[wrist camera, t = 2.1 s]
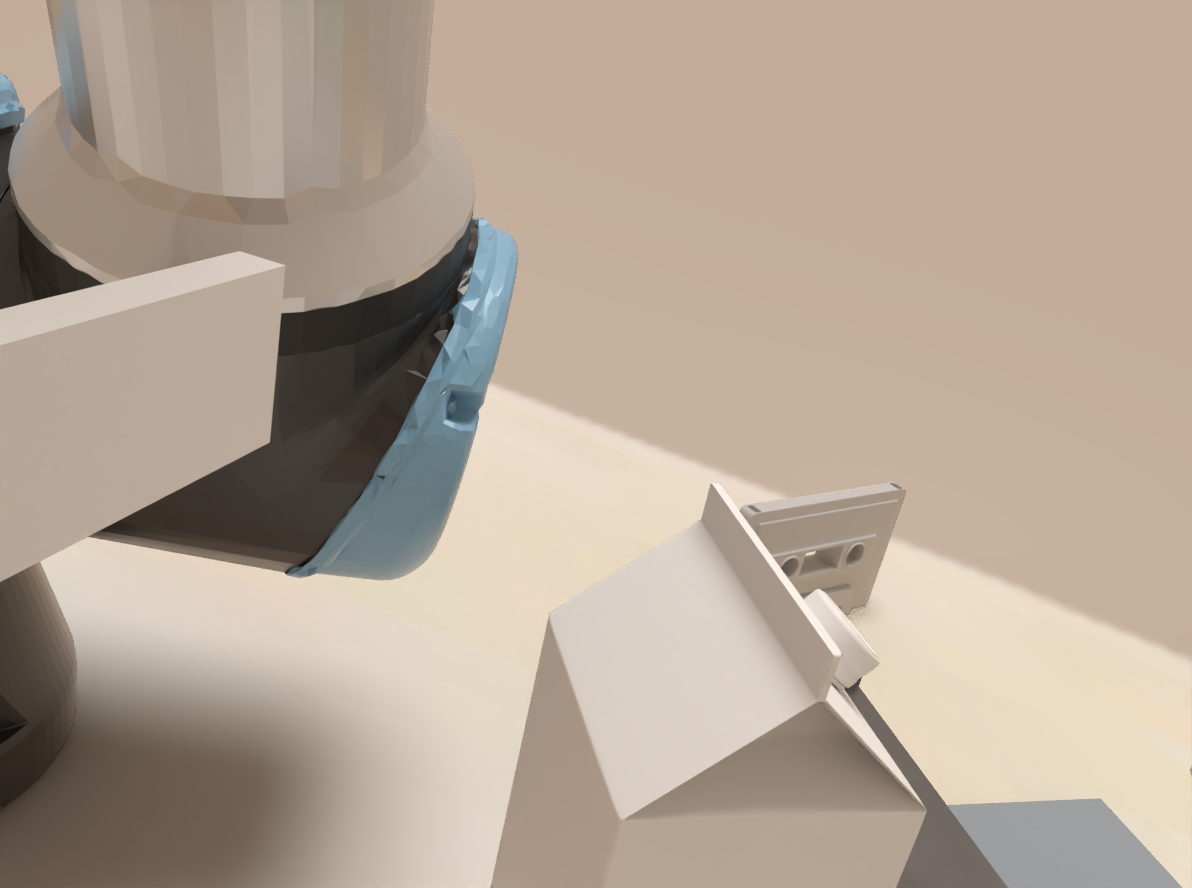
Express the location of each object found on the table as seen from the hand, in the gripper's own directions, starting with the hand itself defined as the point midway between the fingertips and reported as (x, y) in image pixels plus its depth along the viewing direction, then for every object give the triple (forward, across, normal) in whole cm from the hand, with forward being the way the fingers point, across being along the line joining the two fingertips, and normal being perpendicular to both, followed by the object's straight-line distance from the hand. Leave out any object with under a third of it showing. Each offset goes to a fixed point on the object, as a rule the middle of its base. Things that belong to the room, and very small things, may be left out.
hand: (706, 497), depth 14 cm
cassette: (+41, 0, -24) cm, 47 cm away
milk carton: (+9, 0, -24) cm, 26 cm away
